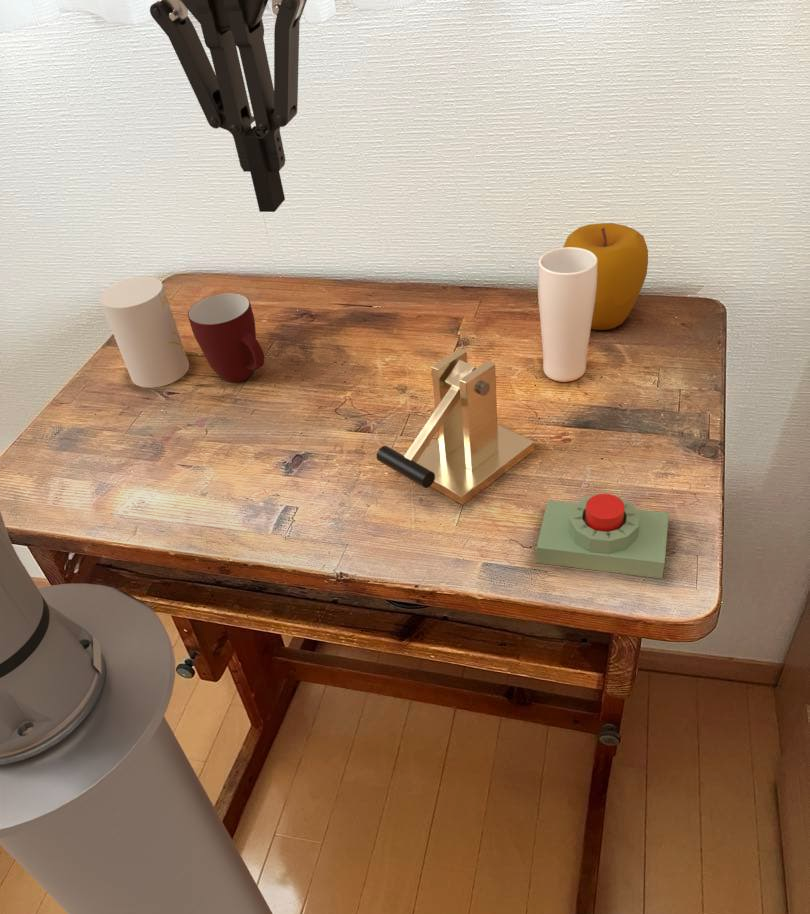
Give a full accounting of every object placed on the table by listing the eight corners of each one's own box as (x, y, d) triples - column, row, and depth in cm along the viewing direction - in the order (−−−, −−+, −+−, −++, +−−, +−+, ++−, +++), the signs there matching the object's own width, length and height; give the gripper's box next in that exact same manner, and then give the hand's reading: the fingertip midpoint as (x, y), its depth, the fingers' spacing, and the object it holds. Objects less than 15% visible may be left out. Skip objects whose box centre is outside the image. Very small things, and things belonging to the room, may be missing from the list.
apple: (640, 299, 116) (649, 207, 107) (643, 341, 108) (653, 246, 99) (560, 300, 118) (562, 210, 109) (557, 341, 110) (559, 248, 101)
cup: (197, 372, 114) (171, 292, 106) (142, 394, 112) (110, 314, 103) (177, 348, 120) (150, 270, 111) (123, 369, 117) (92, 291, 109)
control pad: (536, 563, 82) (536, 534, 79) (547, 515, 87) (547, 486, 84) (662, 578, 79) (666, 549, 76) (666, 528, 84) (671, 498, 81)
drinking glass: (528, 365, 107) (528, 255, 97) (576, 352, 108) (581, 241, 98) (550, 392, 102) (553, 279, 92) (601, 378, 103) (609, 265, 93)
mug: (293, 371, 112) (277, 303, 105) (254, 402, 108) (234, 334, 101) (236, 353, 117) (217, 287, 110) (196, 382, 113) (174, 316, 106)
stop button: (583, 530, 80) (583, 516, 79) (587, 505, 82) (588, 491, 81) (621, 534, 79) (622, 520, 78) (625, 508, 81) (626, 495, 80)
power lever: (429, 492, 86) (418, 482, 84) (383, 464, 90) (372, 455, 88) (501, 385, 86) (492, 374, 84) (452, 363, 90) (442, 351, 88)
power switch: (462, 505, 89) (454, 408, 80) (404, 471, 94) (391, 376, 86) (534, 450, 95) (534, 353, 86) (475, 421, 100) (470, 326, 91)
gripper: (97, -99, 59) (192, 222, 76) (264, -116, 56) (325, 224, 73) (146, -117, 65) (225, 188, 81) (302, -134, 61) (351, 188, 78)
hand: (272, 205), depth 77 cm, fingers closed
